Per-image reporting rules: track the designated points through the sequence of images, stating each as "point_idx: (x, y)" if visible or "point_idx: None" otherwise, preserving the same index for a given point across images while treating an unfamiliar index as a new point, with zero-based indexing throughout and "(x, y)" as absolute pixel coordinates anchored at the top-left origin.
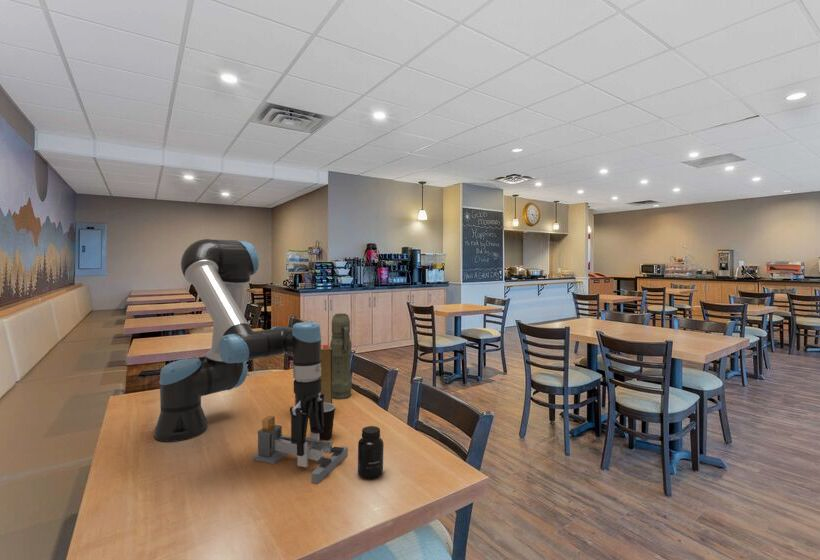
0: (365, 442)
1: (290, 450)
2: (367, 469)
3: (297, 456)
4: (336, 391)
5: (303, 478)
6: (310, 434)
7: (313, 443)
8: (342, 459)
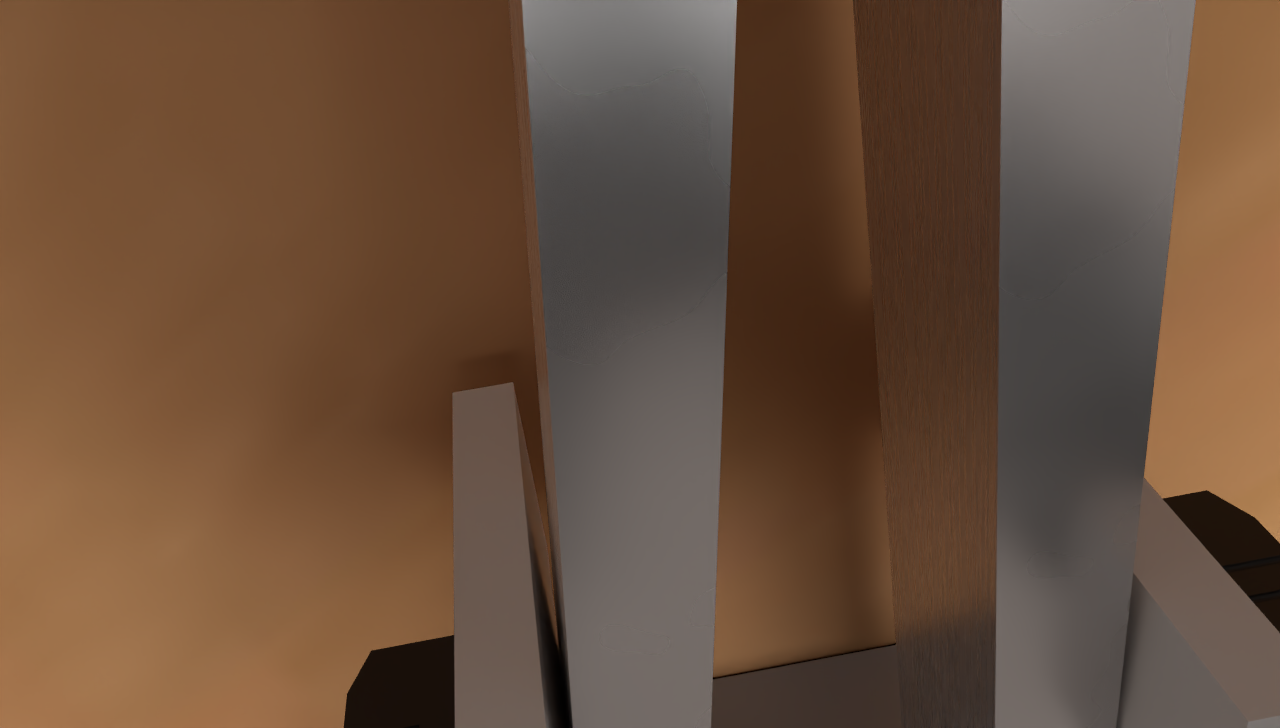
0: None
1: (531, 267)
2: None
3: (453, 530)
4: None
5: (277, 623)
6: (1224, 711)
7: (967, 705)
8: None
